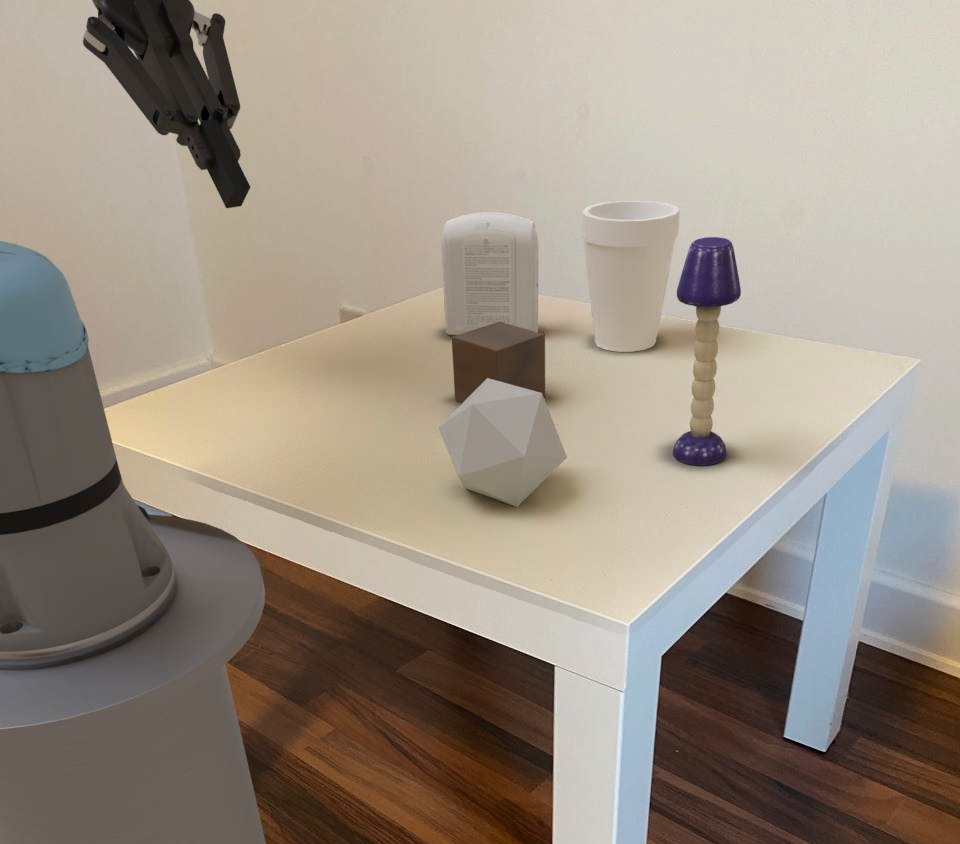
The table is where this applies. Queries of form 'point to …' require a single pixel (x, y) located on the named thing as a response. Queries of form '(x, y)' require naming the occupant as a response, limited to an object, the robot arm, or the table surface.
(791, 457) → the table surface
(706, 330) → the toy lamp
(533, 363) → the walnut block
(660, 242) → the foam cup
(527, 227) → the white boxy piece
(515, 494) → the die
